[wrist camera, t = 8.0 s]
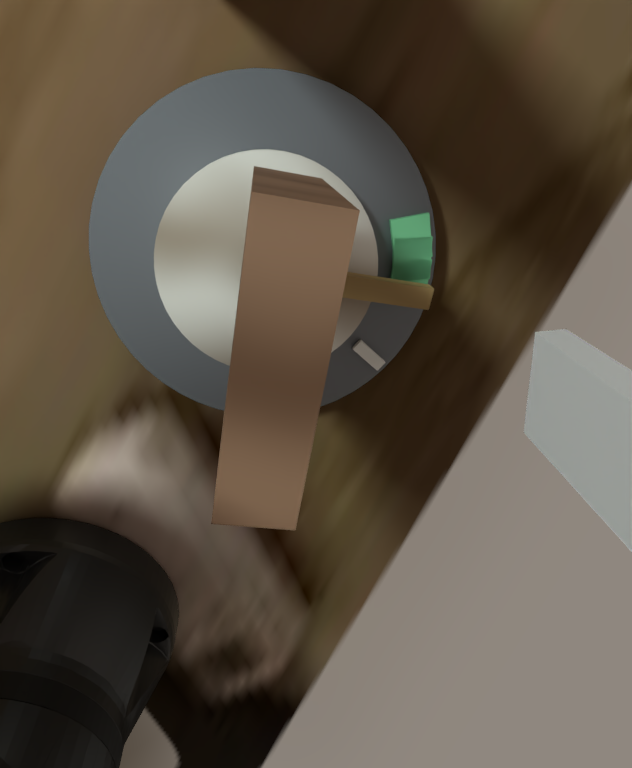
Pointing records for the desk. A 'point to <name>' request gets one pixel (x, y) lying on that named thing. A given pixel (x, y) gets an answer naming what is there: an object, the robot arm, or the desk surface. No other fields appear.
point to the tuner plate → (241, 133)
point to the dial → (270, 310)
